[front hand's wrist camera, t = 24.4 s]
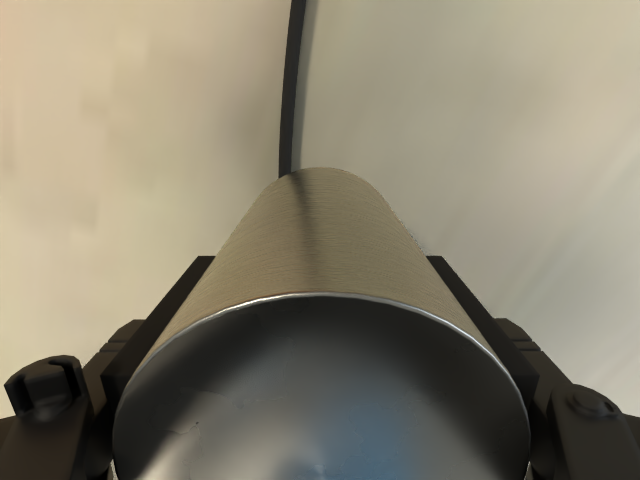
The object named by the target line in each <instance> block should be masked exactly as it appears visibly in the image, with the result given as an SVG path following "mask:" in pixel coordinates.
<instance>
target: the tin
mask: <svg viewBox="0 0 640 480" xmlns="http://www.w3.org/2000/svg"><path fill="white" fill-rule="evenodd" d="M530 448H531V433H530V426H529V420H528V414H527V410H526V407H525V404H524V401H523V399H522V396H521V393H520V391H519V389H518V387H517V386H516V384H515V382H514V380H513V379H512V377H511V375H510V374H509V372H508V370H507V369H506V368H505V366H504V365H503V363H502V362H501V361H500V359H499V358H498V356H497V355H496V354H495V352H494V351H493V349H492V348H491V347H490V345H489V344H488V343H487V341H486V340H485V338H484V337H483V336H482V334H481V333H480V331H479V330H478V329H477V327H476V326H475V324H474V323H473V322H472V320H471V319H470V318H469V316H468V315H467V313H466V312H465V311H464V309H463V308H462V306H461V305H460V304H459V302H458V301H457V299H456V298H455V297H454V295H453V294H452V293H451V291H450V290H449V288H448V287H447V286H446V284H445V283H444V281H443V280H442V279H441V277H440V276H439V274H438V273H437V272H436V270H435V269H434V268H433V266H432V265H431V263H430V262H429V261H428V259H427V258H426V256H425V255H424V254H423V252H422V251H421V249H420V248H419V247H418V245H417V244H416V243H415V241H414V240H413V238H412V237H411V236H410V234H409V233H408V231H407V230H406V229H405V227H404V226H403V224H402V223H401V222H400V220H399V219H398V218H397V216H396V215H395V213H394V212H393V211H392V209H391V208H390V206H389V205H388V204H387V202H386V201H385V199H384V198H383V197H382V196H381V195H380V193H379V192H378V191H377V190H376V189H375V188H374V187H373V186H371V185H370V184H369V183H367V182H366V181H365V180H363V179H362V178H360V177H358V176H356V175H354V174H352V173H349V172H346V171H343V170H339V169H334V168H325V167H316V168H307V169H302V170H298V171H295V172H292V173H289V174H287V175H285V176H283V177H281V178H279V179H278V180H276V181H275V182H273V183H272V184H270V185H269V186H268V187H267V188H266V189H265V190H264V191H263V192H262V193H261V194H260V195H259V197H258V198H257V199H256V200H255V202H254V203H253V205H252V206H251V208H250V209H249V210H248V212H247V213H246V215H245V216H244V217H243V219H242V220H241V222H240V223H239V225H238V226H237V227H236V229H235V230H234V232H233V233H232V234H231V236H230V237H229V239H228V240H227V242H226V243H225V244H224V246H223V247H222V249H221V250H220V251H219V253H218V254H217V256H216V257H215V259H214V260H213V261H212V263H211V264H210V266H209V267H208V268H207V270H206V271H205V273H204V274H203V276H202V277H201V278H200V280H199V281H198V283H197V284H196V285H195V287H194V288H193V290H192V291H191V292H190V294H189V295H188V297H187V298H186V300H185V301H184V302H183V304H182V305H181V307H180V308H179V309H178V311H177V312H176V314H175V315H174V317H173V318H172V319H171V321H170V322H169V324H168V325H167V326H166V328H165V329H164V331H163V332H162V334H161V335H160V336H159V338H158V339H157V341H156V342H155V343H154V345H153V346H152V348H151V349H150V351H149V352H148V353H147V355H146V356H145V358H144V359H143V360H142V362H141V363H140V365H139V366H138V368H137V369H136V371H135V372H134V374H133V375H132V377H131V379H130V380H129V382H128V384H127V385H126V387H125V389H124V391H123V393H122V396H121V399H120V401H119V404H118V406H117V409H116V413H115V419H114V424H113V430H112V456H113V461H114V466H115V471H116V474H117V477H118V480H524V478H525V476H526V473H527V468H528V463H529V459H530Z"/></svg>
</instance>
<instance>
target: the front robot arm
mask: <svg viewBox="0 0 640 480" xmlns="http://www.w3.org/2000/svg"><path fill="white" fill-rule="evenodd" d="M305 6H306V0H292V3H291V11H290V19H289V27H288V37H287V46H286V56H285V68H284V80H283V93H282V108H281V123H280V143H279V178H281V177H283V176H285V175H287V174H289V173H291V151H292V134H293V119H294V106H295V94H296V83H297V72H298V62H299V53H300V44H301V36H302V28H303V20H304V13H305ZM215 257H216V256H198V257H197V258H196V259H195V261H194V262H193V263H192V264H191V265H190V267H189V268H188V269H187V270H186V271H185V273H184V274H183V275H182V276H181V277H180V279H179V280H178V281H177V282H176V284H175V285H174V286H173V287H172V288H171V290H170V291H169V292H168V293H167V294H166V296H165V297H164V298H163V299H162V300H161V302H160V303H159V304H158V305H157V306H156V308H155V309H154V310H153V311H152V313H151V314H150V315H149V316H148V317H147V319H146V320H132V321H131V322H129V323H128V324H126V325H124V326H123V327H121V328H120V329H118V330H117V331H116V332H115V334H114V335H113V336H112V337H111V338H110V339H109V340H108V343H105V345H104V346H103V347H102V348H101V349H100V351H99V352H97V353H96V354H95V355H94V357H93V358H92V359H91V360H90V361H89V362H88V363H87V364H86V365H85V366H84V367H83V369H82V368H81V364H80V361H79V360H78V359H77V358H75V357H74V356H68V355H60V356H52V357H48V358H45V359H42V360H39V361H36V362H34V363H32V364H30V365H28V366H26V367H24V368H22V369H21V370H19V371H18V372H16V373H15V374H14V375H12V376H11V377H10V378H9V379H8V381H7V382H6V383H5V384H4V387H5V390H6V392H7V395H8V397H9V399H10V402H11V404H12V407H13V409H14V412H15V414H16V415H15V416H11V417H7V418H3V419H0V480H113V472H112V467H111V464H110V463H111V461H112V459H113V456H112V430H113V424H114V419H115V413H116V409H117V406H118V404H119V401H120V399H121V396H122V393H123V391H124V389H125V387H126V385H127V384H128V382H129V380H130V379H131V377H132V375H133V374H134V372H135V371H136V369H137V368H138V366H139V365H140V363H141V362H142V360H143V359H144V358H145V356H146V355H147V353H148V352H149V351H150V349H151V348H152V346H153V345H154V343H155V342H156V341H157V339H158V338H159V336H160V335H161V334H162V332H163V331H164V329H165V328H166V326H167V325H168V324H169V322H170V321H171V319H172V318H173V317H174V315H175V314H176V312H177V311H178V309H179V308H180V307H181V305H182V304H183V302H184V301H185V300H186V298H187V297H188V295H189V294H190V292H191V291H192V290H193V288H194V287H195V285H196V284H197V283H198V281H199V280H200V278H201V277H202V276H203V274H204V273H205V271H206V270H207V268H208V267H209V266H210V264H211V263H212V261H213V260H214V259H215ZM426 258H427V259H428V261H429V262H430V263H431V265H432V266H433V268H434V269H435V270H436V272H437V273H438V274H439V276H440V277H441V279H442V280H443V281H444V283H445V284H446V286H447V287H448V288H449V290H450V291H451V293H452V294H453V295H454V297H455V298H456V299H457V301H458V302H459V304H460V305H461V306H462V308H463V309H464V311H465V312H466V313H467V315H468V316H469V318H470V319H471V320H472V322H473V323H474V324H475V326H476V327H477V329H478V330H479V331H480V333H481V334H482V336H483V337H484V338H485V340H486V341H487V343H488V344H489V345H490V347H491V348H492V349H493V351H494V352H495V354H496V355H497V356H498V358H499V359H500V361H501V362H502V363H503V365H504V366H505V368H506V369H507V370H508V372H509V374H510V375H511V377H512V379H513V380H514V382H515V384H516V386H517V387H518V389H519V391H520V393H521V396H522V399H523V401H524V404H525V407H526V410H527V414H528V420H529V426H530V433H531V448H530V459H529V461H530V464H529V467H528V470H527V474H526V477H525V480H640V417H635V416H631V415H627V414H623V413H622V412H621V411H620V409H619V408H618V406H617V405H615V404H614V403H613V402H612V401H611V400H609V399H608V398H607V397H605V396H604V395H602V394H600V393H598V392H596V391H595V390H593V389H590V388H587V387H584V386H581V385H577V384H573V383H572V382H571V381H570V380H569V379H568V378H567V377H566V376H565V375H564V374H563V373H562V371H561V370H560V369H559V368H558V367H557V366H556V365H555V364H554V363H553V362H552V361H551V360H550V358H549V357H548V356H547V355H546V354H545V353H544V352H543V351H541V349H540V348H539V346H538V345H537V344H536V343H535V342H532V339H531V338H530V337H529V336H528V335H527V333H526V332H525V331H524V330H523V329H522V328H521V327H519V326H517V325H516V324H514V323H513V322H511V321H509V320H508V319H506V318H492V316H491V315H490V314H489V313H488V312H487V310H486V309H485V308H484V307H483V306H482V304H481V303H480V302H479V301H478V300H477V298H476V297H475V296H474V295H473V293H472V292H471V291H470V290H469V289H468V287H467V286H466V285H465V284H464V283H463V281H462V280H461V279H460V278H459V277H458V275H457V274H456V273H455V272H454V271H453V269H452V268H451V267H450V266H449V264H448V263H447V262H446V261H445V260H444V258H443V257H442V256H426Z"/></svg>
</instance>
